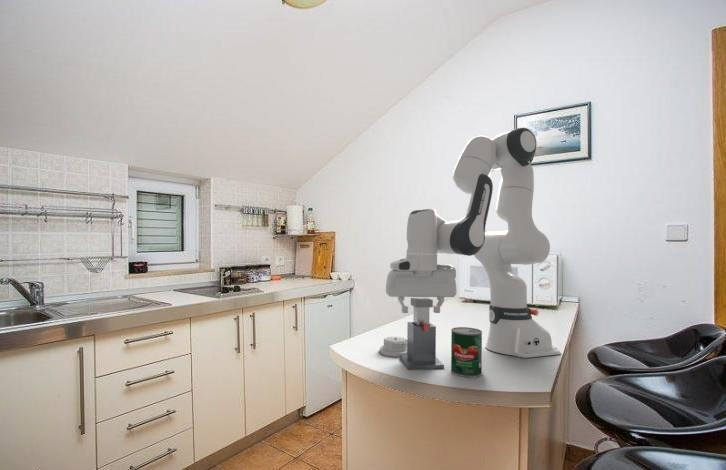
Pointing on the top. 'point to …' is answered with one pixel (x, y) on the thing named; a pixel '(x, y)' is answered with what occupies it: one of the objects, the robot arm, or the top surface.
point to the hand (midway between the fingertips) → (420, 312)
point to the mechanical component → (394, 346)
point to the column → (421, 310)
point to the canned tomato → (466, 351)
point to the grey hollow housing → (421, 347)
